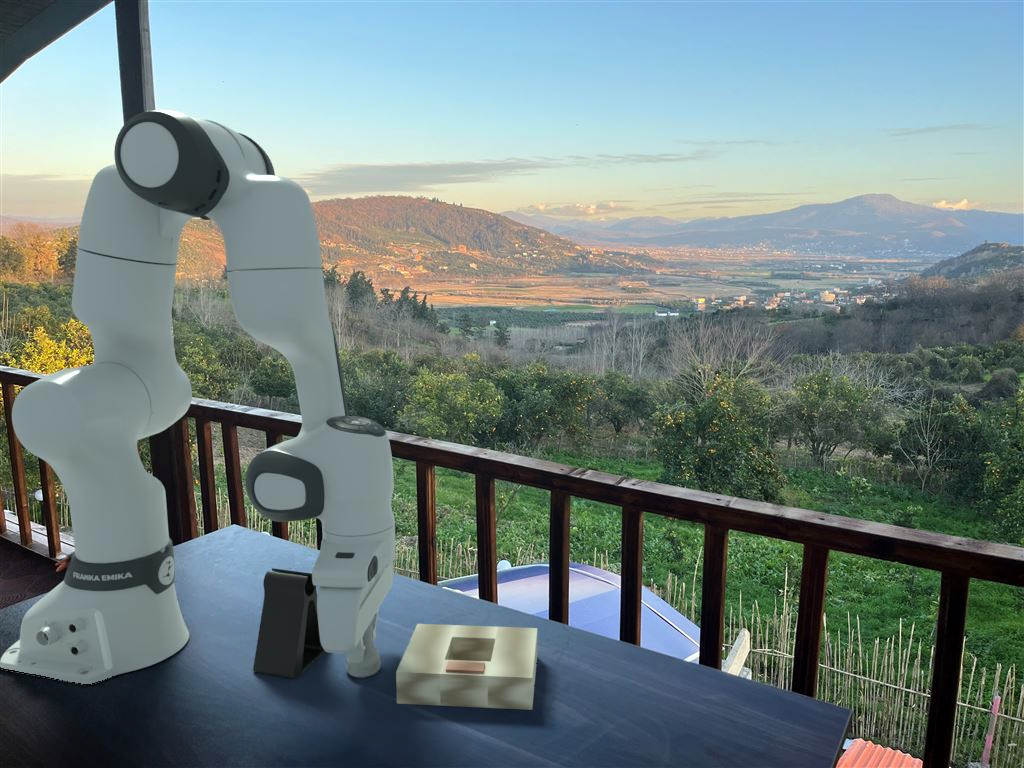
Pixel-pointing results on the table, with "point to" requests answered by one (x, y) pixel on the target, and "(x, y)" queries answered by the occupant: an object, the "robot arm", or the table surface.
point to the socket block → (469, 667)
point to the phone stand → (288, 625)
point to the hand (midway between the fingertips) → (362, 650)
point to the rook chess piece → (366, 658)
